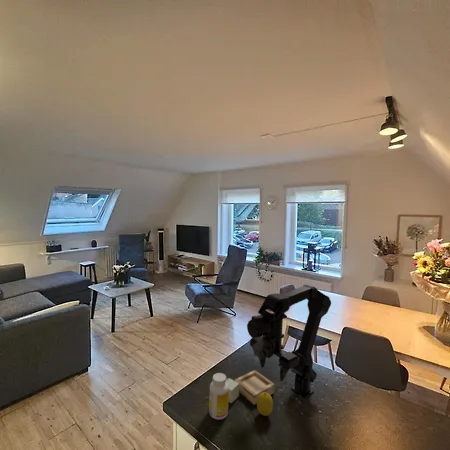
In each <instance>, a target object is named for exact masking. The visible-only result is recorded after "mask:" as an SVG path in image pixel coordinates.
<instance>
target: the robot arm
mask: <svg viewBox="0 0 450 450" xmlns="http://www.w3.org/2000/svg"><path fill="white" fill-rule="evenodd" d="M305 300H307V304H306V305H307V309H308V316H307V319H306V322H305V325H304V329H303V332H302V334H301V339H300V342H299V345H298V348H296V349H295V350H292V351H287V352H286V353H285V352H283V351H282V350H284V348H285V346H284V345H283V344H282V341H283V339H284V338H285V334H284V333H283V322H284V319H288V316H287V314H286V313H287V312H288V311H290V307H292V306H293V305H296V304H298V303H301V302H303V301H305ZM331 305H332V301H331V299H330V296H328V295H326V294H325V293H323V292H321V291H320V290H319V289H318V288H316V287H315V286H312V285H309V284H303V285H302V286H301V287H298V288H295V289H292V290H290V291H288V292H287V291H286V292H285V293H270V294H268V295H266V297H265V299H264V300H263V303H262V304H261V306H260V307H259V309H258V311H257V313H258V315H253V316H251V319H250V320H248V322H247V324H246V329H247V332H248V335H249V336H250V337H251V338H250V340H249V346H250V347H251V348H252V350H253V354H254V356H255V357H258V359H259V360H258V361H259V365H260V367H261V368H262V369H263V368H264V367H265V365H266V360H267V359H271V357H273V356H277V357H278V364H277V366H278V367H279V368H280V370H279V371H280V372H279V381H280V382H283V381H284V379H285V378H286V376H287V374H288V372H289V370H290V371H291V372H292V373H293V374H295V375H294V385H292V386H291V387H290V388H291V390H292V391H294V392H295V393H297V394H298V395H300V396H301V397H302V398H306V397H308V396H310V395H311V394H312V393H314V392H315V389H313V388H312V386H311V385H312V383H314V382H315V380H316V379H317V376H318V373H317V371H315V370H314V369H313V365H314V361H313V357H312V356H313V355H312V352H313V349H314V345H315V342H316V337H317V335H318V332H319V328H320V325H321V320H322V318H323V317H324V316H325V315H327V314H328V312H329V310H330V307H331ZM259 314H260V315H259ZM266 358H267V359H266Z"/></svg>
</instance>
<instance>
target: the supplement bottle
mask: <svg viewBox="0 0 450 450" xmlns="http://www.w3.org/2000/svg"><path fill="white" fill-rule="evenodd" d="M226 380H227V376H226V374H225V373H222V372H217V373H215V374H213V376H212V381H211V383H210V385H209V397H208V398H209V400H208V401H209V403H208V404H209V405H208V413H209V415H210V417H211V418H213V419H215V420H224V419H226V417H227V416H228V413H229V402H228V397H229V386H228V384H227V382H226Z"/></svg>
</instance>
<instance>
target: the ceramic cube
mask: <svg viewBox="0 0 450 450" xmlns="http://www.w3.org/2000/svg"><path fill="white" fill-rule="evenodd" d="M226 382H227V384H228V386H229V397H228V403H230V404H232V403H233V402H235V400H237V399H238V397H240V392H239V383H238V382H236V381H235V379H234V380H233V379H232V378H230V377H229V378H226Z"/></svg>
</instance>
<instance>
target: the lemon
mask: <svg viewBox="0 0 450 450" xmlns="http://www.w3.org/2000/svg"><path fill="white" fill-rule="evenodd" d="M256 408H257V410H258V412H259V414H261V415H262V416H264V417H267V416H270V415H271V413H272V412H273V409H274V401H273V398H272V396H271V395H270V394H268V393H266V392H263V393H261V394H260V395H259V396H258V399H257V404H256Z"/></svg>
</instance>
